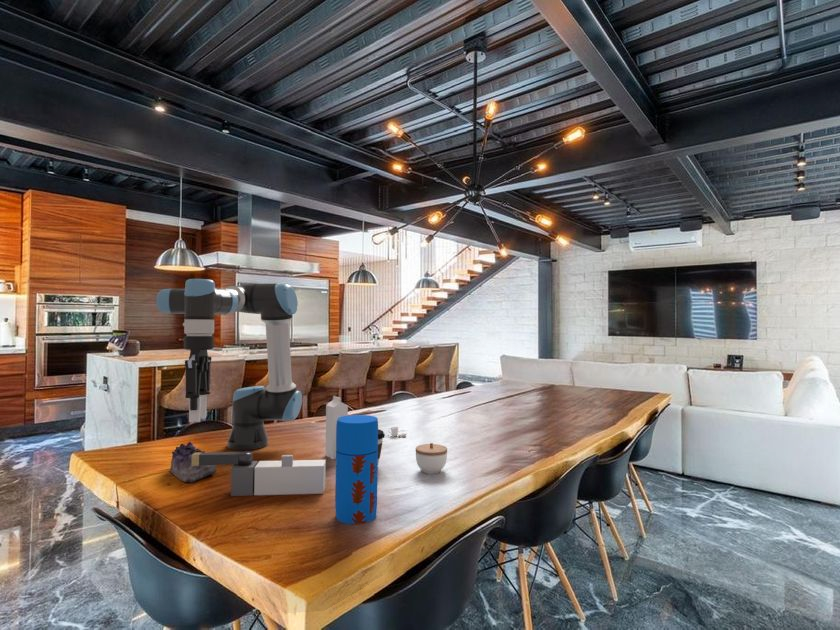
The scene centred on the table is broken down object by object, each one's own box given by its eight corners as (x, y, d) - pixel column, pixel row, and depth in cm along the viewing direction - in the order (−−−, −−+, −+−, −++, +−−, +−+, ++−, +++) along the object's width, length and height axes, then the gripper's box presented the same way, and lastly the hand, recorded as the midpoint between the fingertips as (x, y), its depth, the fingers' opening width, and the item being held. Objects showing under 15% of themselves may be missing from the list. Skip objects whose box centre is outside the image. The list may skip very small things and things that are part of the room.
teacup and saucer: (408, 436, 204) (408, 427, 204) (398, 440, 197) (398, 430, 197) (392, 433, 209) (392, 424, 209) (381, 437, 202) (382, 428, 202)
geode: (155, 472, 152) (160, 441, 154) (191, 469, 161) (195, 439, 162) (182, 484, 139) (186, 450, 141) (219, 480, 148) (223, 448, 149)
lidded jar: (424, 478, 149) (424, 449, 150) (409, 468, 159) (410, 441, 159) (453, 473, 154) (453, 445, 154) (437, 464, 164) (437, 437, 164)
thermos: (337, 507, 125) (338, 414, 126) (377, 506, 126) (378, 414, 126) (333, 525, 114) (334, 423, 115) (376, 524, 115) (378, 423, 116)
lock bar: (195, 462, 136) (196, 451, 136) (253, 461, 138) (253, 450, 138) (190, 466, 132) (190, 455, 132) (250, 465, 134) (250, 454, 134)
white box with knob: (236, 488, 138) (237, 451, 139) (325, 486, 141) (325, 449, 141) (230, 495, 132) (231, 457, 133) (323, 493, 135) (323, 455, 135)
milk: (332, 459, 168) (333, 398, 168) (325, 455, 173) (325, 396, 173) (347, 456, 172) (348, 397, 172) (340, 452, 176) (340, 394, 176)
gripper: (196, 334, 136) (195, 414, 136) (171, 336, 119) (170, 427, 119) (223, 334, 137) (221, 413, 137) (202, 336, 120) (200, 426, 120)
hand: (197, 419), depth 128 cm, fingers open, 4 cm apart
